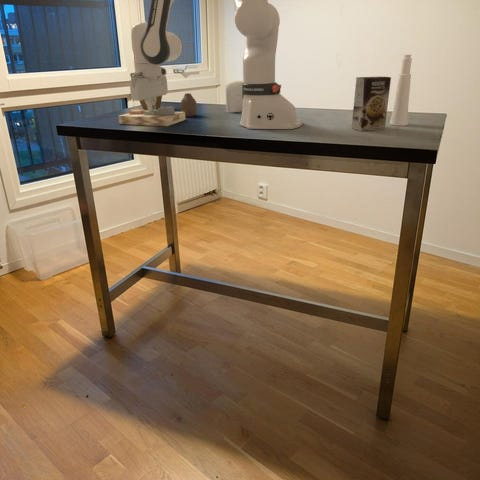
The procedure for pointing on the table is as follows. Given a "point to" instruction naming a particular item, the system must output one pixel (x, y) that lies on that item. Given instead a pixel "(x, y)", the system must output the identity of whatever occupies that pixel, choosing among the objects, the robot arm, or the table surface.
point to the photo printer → (234, 97)
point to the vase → (188, 105)
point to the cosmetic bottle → (402, 94)
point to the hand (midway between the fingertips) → (151, 110)
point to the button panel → (151, 119)
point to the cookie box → (370, 103)
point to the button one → (137, 111)
